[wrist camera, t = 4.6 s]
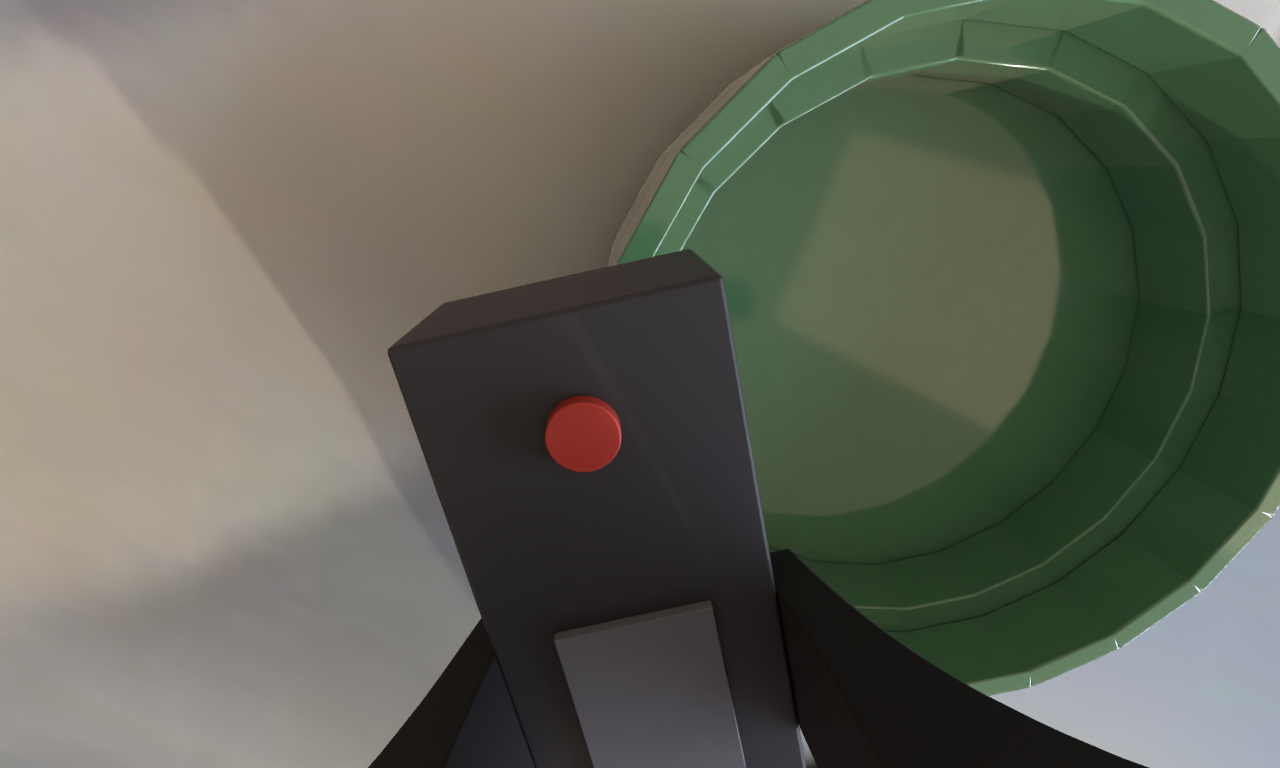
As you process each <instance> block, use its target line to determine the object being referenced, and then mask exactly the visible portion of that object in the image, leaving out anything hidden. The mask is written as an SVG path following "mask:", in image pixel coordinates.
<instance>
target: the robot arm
mask: <svg viewBox="0 0 1280 768" xmlns="http://www.w3.org/2000/svg"><path fill="white" fill-rule="evenodd" d="M770 558H771V564H772V570H773V576H774V582H775V588H776V594H777V600H778V606H779V612H780V617H781V623H782V629H783V635H784V641H785V647H786V653H787V659H788V665H789V671H790V677H791V683H792V689H793V695H794V701H795V707H796V713H797V719H798V723H799V726H800V728H801V730H802V733H803V735H804V737H805V740H806V742H807V744H808V746H809V749H810V751H811V753H812V756H813V758H814V760H815V763H816V765H817V767H818V768H1148V767H1145V766H1143V765H1140V764H1137V763H1134V762H1132V761H1129V760H1126V759H1124V758H1121V757H1119V756H1116V755H1114V754H1111V753H1109V752H1106V751H1104V750H1102V749H1099V748H1097V747H1095V746H1092V745H1090V744H1088V743H1085V742H1083V741H1081V740H1078V739H1076V738H1074V737H1071V736H1069V735H1067V734H1064V733H1062V732H1060V731H1058V730H1055V729H1053V728H1051V727H1049V726H1047V725H1045V724H1042V723H1040V722H1038V721H1036V720H1034V719H1032V718H1030V717H1028V716H1026V715H1024V714H1022V713H1020V712H1018V711H1016V710H1014V709H1012V708H1010V707H1008V706H1006V705H1004V704H1002V703H1000V702H998V701H996V700H994V699H992V698H990V697H989V696H987V695H985V694H983V693H981V692H979V691H977V690H976V689H974V688H972V687H970V686H968V685H967V684H965V683H963V682H961V681H960V680H958V679H957V678H955V677H953V676H952V675H950V674H948V673H947V672H945V671H943V670H942V669H940V668H939V667H937V666H935V665H934V664H932V663H931V662H929V661H928V660H926V659H925V658H923V657H922V656H920V655H919V654H917V653H916V652H914V651H913V650H911V649H910V648H908V647H907V646H905V645H904V644H903V643H901V642H900V641H899V640H897V639H896V638H894V637H893V636H892V635H890V634H889V633H887V632H886V631H885V630H883V629H882V628H881V627H879V626H878V625H877V624H875V623H874V622H873V621H872V620H870V619H869V618H868V617H866V616H865V615H864V614H863V613H862V612H860V611H859V610H858V609H857V608H855V607H854V606H853V605H852V604H850V603H849V602H848V601H847V600H846V599H844V598H843V597H842V596H841V595H840V594H838V593H837V592H836V591H835V590H834V589H833V588H832V587H830V586H829V585H828V584H827V583H826V582H825V581H824V580H823V579H822V578H820V577H819V576H818V575H817V574H816V573H815V572H814V571H813V570H812V569H811V568H810V567H809V566H808V565H807V564H806V563H805V562H804V561H803V560H802V559H801V558H800V557H799V556H798V555H797V554H796V553H794V552H793V551H791V550H790V549H784V550H780V551H775V552H770ZM368 768H535V766H534V763H533V760H532V757H531V755H530V752H529V749H528V746H527V743H526V740H525V738H524V735H523V732H522V729H521V726H520V724H519V721H518V718H517V715H516V712H515V709H514V707H513V704H512V701H511V698H510V695H509V693H508V690H507V687H506V684H505V681H504V679H503V676H502V673H501V670H500V667H499V664H498V662H497V659H496V656H495V654H494V651H493V648H492V645H491V643H490V640H489V637H488V634H487V631H486V628H485V626H484V623H483V620H482V618H481V620H480V621H479V622H478V624H477V625H476V626H475V628H474V629H473V631H472V632H471V634H470V635H469V636H468V638H467V639H466V641H465V642H464V643H463V645H462V646H461V648H460V649H459V651H458V652H457V653H456V655H455V656H454V658H453V659H452V661H451V662H450V663H449V665H448V666H447V668H446V669H445V670H444V672H443V673H442V675H441V676H440V677H439V679H438V680H437V681H436V683H435V684H434V686H433V687H432V688H431V690H430V691H429V692H428V694H427V695H426V696H425V698H424V699H423V701H422V702H421V703H420V705H419V706H418V707H417V708H416V710H415V711H414V712H413V713H412V715H411V716H410V717H409V718H408V720H407V721H406V722H405V723H404V725H403V726H402V727H401V728H400V730H399V731H398V732H397V733H396V735H395V736H394V737H393V738H392V740H391V741H390V742H389V743H388V745H387V746H386V747H385V748H384V750H383V751H382V752H381V753H380V754H379V756H378V757H377V758H376V759H375V760H374V761H373V763H372V764H371V765H370V766H369V767H368Z"/></svg>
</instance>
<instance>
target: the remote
mask: <svg viewBox="0 0 1280 768" xmlns="http://www.w3.org/2000/svg"><path fill="white" fill-rule="evenodd" d="M388 356H389V358H390V361H391V364H392V367H393V370H394V372H395V375H396V378H397V381H398V384H399V387H400V389H401V392H402V395H403V398H404V401H405V403H406V406H407V409H408V412H409V415H410V417H411V420H412V423H413V426H414V429H415V432H416V434H417V437H418V440H419V443H420V446H421V448H422V451H423V454H424V457H425V460H426V462H427V465H428V468H429V471H430V474H431V477H432V479H433V482H434V485H435V488H436V491H437V493H438V496H439V499H440V502H441V505H442V508H443V510H444V513H445V516H446V519H447V522H448V524H449V527H450V530H451V533H452V536H453V538H454V541H455V544H456V547H457V550H458V553H459V555H460V558H461V561H462V564H463V567H464V569H465V572H466V575H467V578H468V581H469V583H470V586H471V589H472V592H473V595H474V598H475V600H476V603H477V606H478V609H479V612H480V614H481V617H482V620H483V623H484V626H485V628H486V631H487V634H488V637H489V640H490V643H491V645H492V648H493V651H494V654H495V656H496V659H497V662H498V664H499V667H500V670H501V673H502V676H503V679H504V681H505V684H506V687H507V690H508V693H509V695H510V698H511V701H512V704H513V707H514V709H515V712H516V715H517V718H518V721H519V724H520V726H521V729H522V732H523V735H524V738H525V740H526V743H527V746H528V749H529V752H530V755H531V757H532V760H533V763H534V766H535V768H806V766H805V760H804V754H803V748H802V742H801V736H800V730H799V724H798V719H797V713H796V707H795V701H794V695H793V689H792V683H791V677H790V671H789V665H788V659H787V653H786V647H785V641H784V635H783V629H782V623H781V617H780V612H779V606H778V600H777V594H776V588H775V582H774V576H773V570H772V564H771V558H770V552H769V546H768V540H767V534H766V528H765V522H764V516H763V510H762V504H761V499H760V493H759V487H758V481H757V475H756V469H755V463H754V457H753V451H752V445H751V439H750V433H749V427H748V421H747V415H746V409H745V403H744V397H743V392H742V386H741V380H740V374H739V368H738V362H737V356H736V350H735V344H734V338H733V332H732V326H731V320H730V314H729V308H728V302H727V296H726V290H725V284H724V279H723V277H722V276H721V275H720V274H719V273H718V272H717V271H715V270H714V269H713V268H712V267H711V266H710V265H708V264H707V263H706V262H705V261H704V260H703V259H702V258H700V257H699V256H698V255H697V254H696V253H695V252H693V251H692V250H690V249H686V250H682V251H677V252H673V253H668V254H664V255H659V256H655V257H650V258H646V259H641V260H637V261H632V262H627V263H623V264H618V265H614V266H609V267H605V268H600V269H596V270H591V271H587V272H582V273H578V274H573V275H569V276H564V277H560V278H555V279H551V280H546V281H542V282H537V283H533V284H528V285H524V286H519V287H515V288H510V289H506V290H501V291H497V292H492V293H488V294H483V295H479V296H474V297H469V298H465V299H460V300H456V301H451V302H447V303H444V304H442V305H441V306H440V307H439V308H437V309H436V310H435V311H434V312H432V313H431V314H430V315H429V316H428V317H426V318H425V319H424V320H423V321H421V322H420V323H419V324H418V325H417V326H415V327H414V328H413V329H412V330H411V331H409V332H408V333H407V334H406V335H404V336H403V337H402V338H401V339H400V340H398V341H397V342H396V343H395V344H394V345H392V346H391V347H390V348H389V349H388Z"/></svg>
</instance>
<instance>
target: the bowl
mask: <svg viewBox="0 0 1280 768" xmlns="http://www.w3.org/2000/svg"><path fill="white" fill-rule="evenodd" d="M686 249H690V250H692V251H693V252H695V253H696V254H697V255H698V256H699V257H700V258H702V259H703V260H704V261H705V262H706V263H707V264H708V265H710V266H711V267H712V268H713V269H714V270H715V271H717V272H718V273H719V274H720V275H721V276H722V277H723V279H724V284H725V290H726V296H727V302H728V308H729V314H730V320H731V326H732V332H733V338H734V344H735V350H736V356H737V362H738V368H739V374H740V380H741V386H742V392H743V397H744V403H745V409H746V415H747V421H748V427H749V433H750V439H751V445H752V451H753V457H754V463H755V469H756V475H757V481H758V487H759V493H760V499H761V504H762V510H763V516H764V522H765V528H766V534H767V540H768V546H769V552H775V551H780V550H784V549H790V550H791V551H793V552H794V553H796V554H797V555H798V556H799V557H800V558H801V559H802V560H803V561H804V562H805V563H806V564H807V565H808V566H809V567H810V568H811V569H812V570H813V571H814V572H815V573H816V574H817V575H818V576H819V577H820V578H822V579H823V580H824V581H825V582H826V583H827V584H828V585H829V586H830V587H832V588H833V589H834V590H835V591H836V592H837V593H838V594H840V595H841V596H842V597H843V598H844V599H846V600H847V601H848V602H849V603H850V604H852V605H853V606H854V607H855V608H857V609H858V610H859V611H860V612H862V613H863V614H864V615H865V616H866V617H868V618H869V619H870V620H872V621H873V622H874V623H875V624H877V625H878V626H879V627H881V628H882V629H883V630H885V631H886V632H887V633H889V634H890V635H892V636H893V637H894V638H896V639H897V640H899V641H900V642H901V643H903V644H904V645H905V646H907V647H908V648H910V649H911V650H913V651H914V652H916V653H917V654H919V655H920V656H922V657H923V658H925V659H926V660H928V661H929V662H931V663H932V664H934V665H935V666H937V667H939V668H940V669H942V670H943V671H945V672H947V673H948V674H950V675H952V676H953V677H955V678H957V679H958V680H960V681H961V682H963V683H965V684H967V685H968V686H970V687H972V688H974V689H976V690H977V691H979V692H981V693H983V694H985V695H987V696H991V695H996V694H1001V693H1006V692H1011V691H1016V690H1021V689H1026V688H1030V687H1031V686H1036V685H1038V684H1040V683H1043V682H1045V681H1047V680H1050V679H1052V678H1054V677H1057V676H1059V675H1061V674H1063V673H1066V672H1068V671H1070V670H1073V669H1075V668H1077V667H1080V666H1082V665H1084V664H1087V663H1089V662H1091V661H1093V660H1096V659H1098V658H1100V657H1103V656H1105V655H1107V654H1110V653H1112V652H1114V651H1117V650H1118V649H1119V647H1120V648H1122V647H1124V646H1125V645H1126V644H1128V643H1129V642H1131V641H1132V640H1134V639H1135V638H1136V637H1138V636H1139V635H1141V634H1142V633H1144V632H1145V631H1146V630H1148V629H1149V628H1151V627H1152V626H1154V625H1155V624H1156V623H1158V622H1159V621H1161V620H1162V619H1164V618H1165V617H1166V616H1168V615H1169V614H1171V613H1172V612H1174V611H1175V610H1177V609H1178V608H1179V607H1181V606H1182V605H1184V604H1185V603H1187V602H1188V601H1189V600H1191V599H1192V598H1194V597H1195V596H1197V595H1198V594H1199V593H1200V590H1201V591H1203V590H1204V589H1205V588H1206V587H1207V586H1208V585H1209V584H1210V583H1211V582H1212V581H1213V580H1214V579H1215V578H1216V577H1217V576H1218V575H1219V573H1220V572H1221V571H1222V570H1223V569H1224V568H1225V567H1226V566H1227V565H1228V564H1229V563H1230V562H1231V561H1232V560H1233V559H1234V558H1235V557H1236V556H1237V555H1238V553H1239V552H1240V551H1241V550H1242V549H1243V548H1244V547H1245V546H1246V545H1247V544H1248V543H1249V542H1250V541H1251V540H1252V539H1253V538H1254V537H1255V536H1256V534H1257V533H1258V532H1259V531H1260V530H1261V529H1262V528H1263V527H1264V526H1265V525H1266V524H1267V523H1268V522H1269V521H1270V520H1271V518H1272V515H1274V514H1275V513H1276V511H1277V509H1278V508H1279V506H1280V48H1279V47H1278V45H1277V44H1276V43H1275V42H1274V40H1273V39H1272V38H1271V37H1270V35H1269V34H1268V33H1267V32H1266V30H1265V29H1263V28H1260V26H1259V25H1257V24H1255V23H1253V22H1252V21H1250V20H1248V19H1246V18H1244V17H1242V16H1241V15H1239V14H1237V13H1235V12H1233V11H1232V10H1230V9H1228V8H1226V7H1224V6H1222V5H1221V4H1219V3H1217V2H1215V1H1213V0H867V1H865V2H863V3H861V4H860V5H858V6H856V7H854V8H853V9H851V10H849V11H847V12H845V13H844V14H842V15H840V16H838V17H837V18H835V19H833V20H831V21H829V22H828V23H826V24H824V25H822V26H821V27H819V28H817V29H815V30H813V31H812V32H810V33H808V34H806V35H805V36H803V37H801V38H799V39H797V40H796V41H794V42H792V43H790V44H789V45H787V46H785V47H783V48H781V49H780V50H778V51H777V52H775V53H774V54H772V55H771V56H769V57H768V58H767V59H765V60H764V61H762V62H761V63H759V64H758V65H756V66H755V67H754V68H752V69H751V70H749V71H748V72H746V73H745V74H743V75H742V76H741V77H739V78H738V79H736V80H735V81H733V82H732V83H731V84H730V85H728V86H727V87H726V88H725V89H724V90H723V91H722V92H721V93H720V94H719V95H718V96H717V97H716V98H715V99H714V101H713V102H712V103H711V104H710V105H709V106H708V107H707V108H706V109H705V110H704V111H703V112H702V113H701V114H700V115H699V116H698V117H697V118H696V119H695V120H694V121H693V122H692V123H691V124H690V125H689V126H688V127H687V128H686V129H685V130H684V131H683V132H682V133H681V134H680V135H679V136H678V137H677V138H676V139H675V140H674V141H673V142H672V143H671V144H670V145H669V146H668V147H667V148H666V150H665V151H664V152H663V153H662V154H661V157H659V158H658V159H657V161H656V163H655V165H654V166H653V168H652V170H651V172H650V174H649V176H648V178H647V179H646V181H645V183H644V185H643V187H642V189H641V190H640V192H639V194H638V196H637V198H636V200H635V202H634V203H633V205H632V207H631V209H630V211H629V213H628V214H627V216H626V218H625V220H624V222H623V224H622V226H621V227H620V229H619V231H618V233H617V235H616V237H615V238H614V243H613V244H612V248H611V253H610V257H609V262H608V267H609V266H614V265H618V264H623V263H627V262H632V261H637V260H641V259H646V258H650V257H655V256H659V255H664V254H668V253H673V252H677V251H682V250H686Z"/></svg>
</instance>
